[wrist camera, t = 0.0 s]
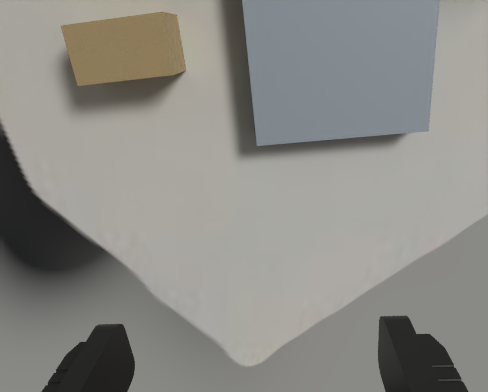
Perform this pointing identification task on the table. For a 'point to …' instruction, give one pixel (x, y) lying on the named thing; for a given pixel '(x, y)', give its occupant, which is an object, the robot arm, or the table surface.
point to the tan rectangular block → (125, 48)
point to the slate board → (339, 67)
